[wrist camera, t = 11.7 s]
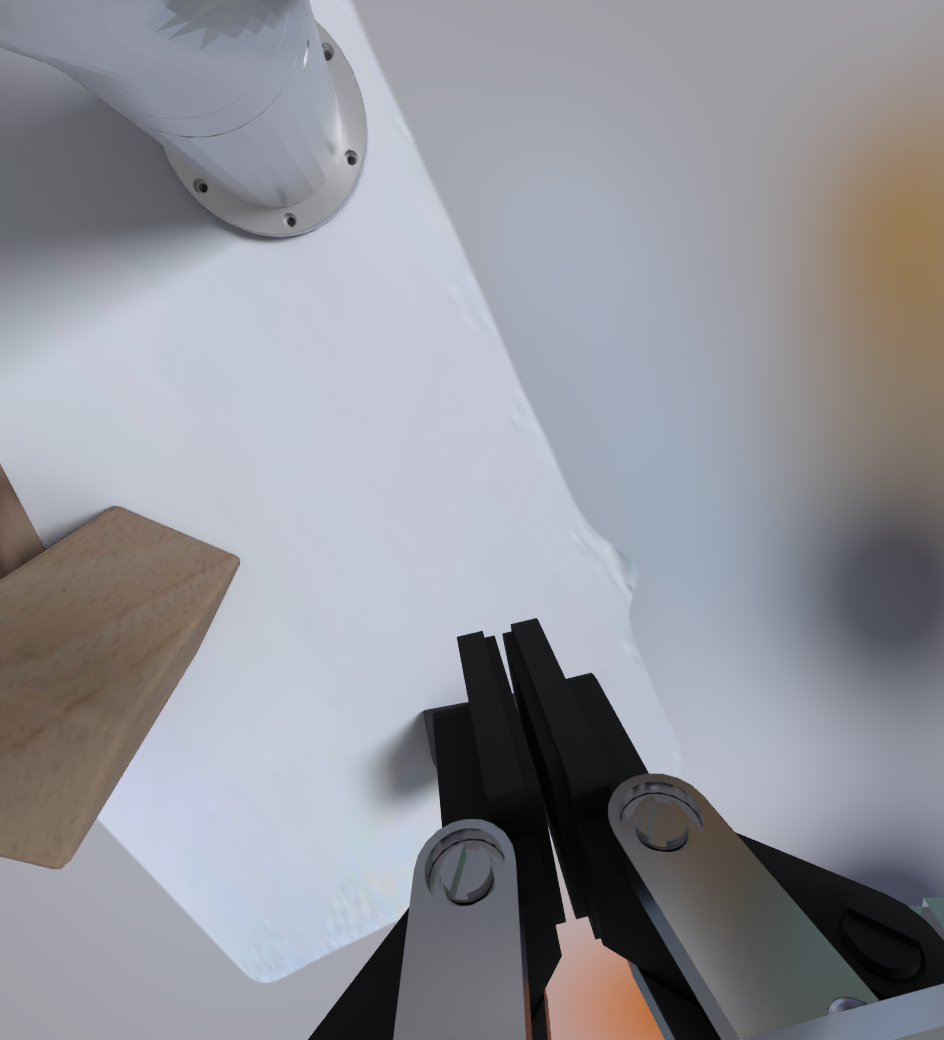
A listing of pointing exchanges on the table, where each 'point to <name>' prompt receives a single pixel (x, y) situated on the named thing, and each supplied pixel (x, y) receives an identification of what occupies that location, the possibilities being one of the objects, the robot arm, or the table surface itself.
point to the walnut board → (15, 531)
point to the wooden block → (92, 668)
